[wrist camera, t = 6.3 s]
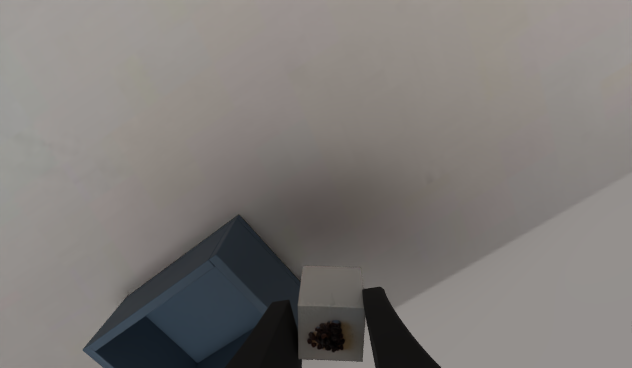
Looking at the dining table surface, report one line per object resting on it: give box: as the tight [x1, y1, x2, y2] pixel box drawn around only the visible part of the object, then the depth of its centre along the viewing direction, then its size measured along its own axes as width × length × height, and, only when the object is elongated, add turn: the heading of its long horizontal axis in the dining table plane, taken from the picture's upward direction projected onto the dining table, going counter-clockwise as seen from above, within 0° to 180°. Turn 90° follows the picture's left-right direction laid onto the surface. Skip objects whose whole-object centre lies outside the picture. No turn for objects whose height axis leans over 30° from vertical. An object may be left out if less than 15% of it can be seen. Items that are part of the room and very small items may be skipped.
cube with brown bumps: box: [298, 266, 366, 362], centre depth 13 cm, size 2×2×2 cm
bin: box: [83, 215, 301, 368], centre depth 22 cm, size 10×7×4 cm
